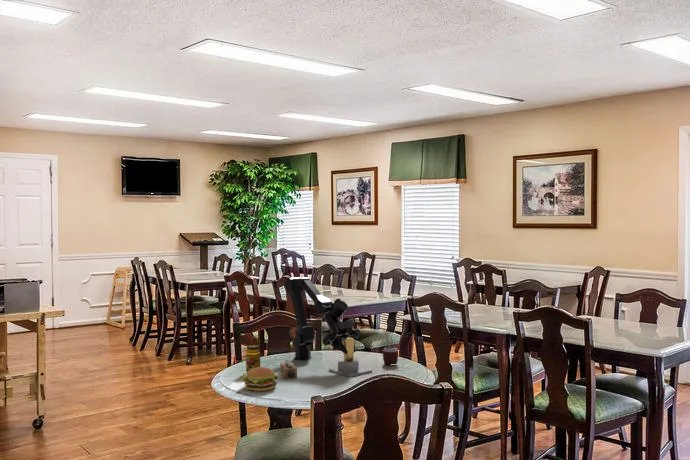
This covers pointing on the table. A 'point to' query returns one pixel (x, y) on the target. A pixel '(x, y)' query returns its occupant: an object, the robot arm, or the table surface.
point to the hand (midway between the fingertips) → (350, 352)
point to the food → (260, 379)
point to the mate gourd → (390, 354)
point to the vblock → (350, 368)
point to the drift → (288, 363)
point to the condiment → (252, 357)
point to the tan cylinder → (349, 349)
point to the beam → (288, 371)
